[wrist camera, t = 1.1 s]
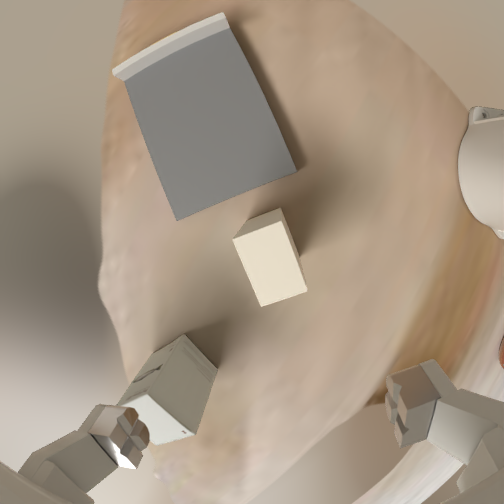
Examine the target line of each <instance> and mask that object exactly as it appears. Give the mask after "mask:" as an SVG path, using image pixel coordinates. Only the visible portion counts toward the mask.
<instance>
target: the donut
mask: <svg viewBox="0 0 504 504" xmlns="http://www.w3.org/2000/svg"><path fill="white" fill-rule="evenodd" d="M499 361H500V364H501V366H502V367H503V368H504V338H503V340H502V343H501V345H500V349H499Z"/></svg>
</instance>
